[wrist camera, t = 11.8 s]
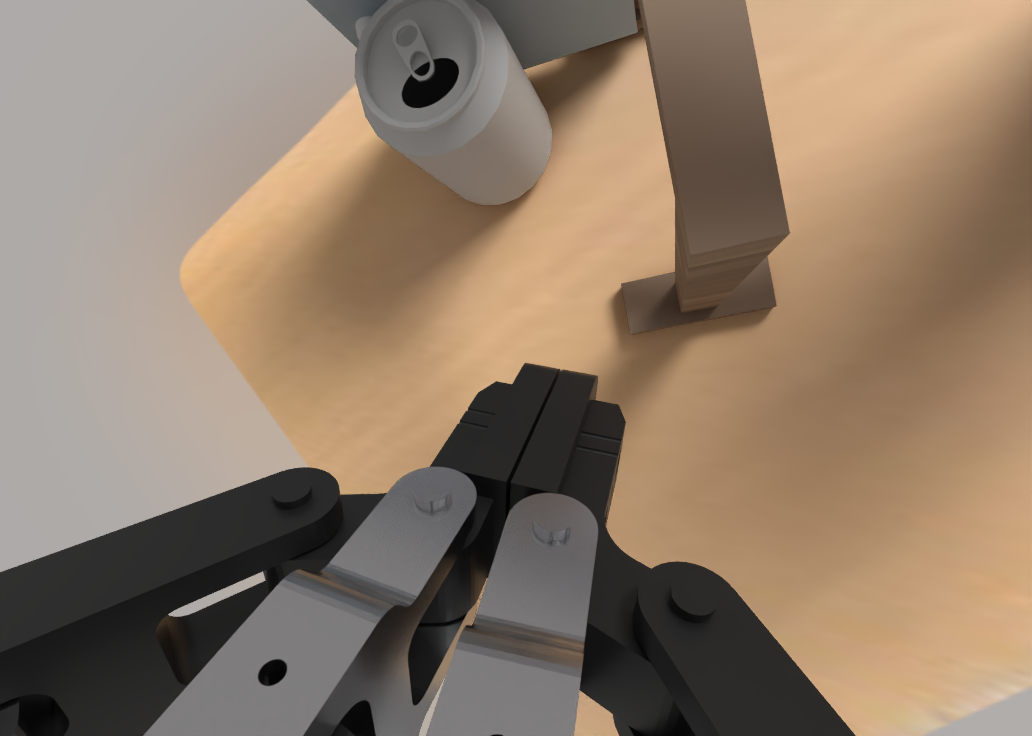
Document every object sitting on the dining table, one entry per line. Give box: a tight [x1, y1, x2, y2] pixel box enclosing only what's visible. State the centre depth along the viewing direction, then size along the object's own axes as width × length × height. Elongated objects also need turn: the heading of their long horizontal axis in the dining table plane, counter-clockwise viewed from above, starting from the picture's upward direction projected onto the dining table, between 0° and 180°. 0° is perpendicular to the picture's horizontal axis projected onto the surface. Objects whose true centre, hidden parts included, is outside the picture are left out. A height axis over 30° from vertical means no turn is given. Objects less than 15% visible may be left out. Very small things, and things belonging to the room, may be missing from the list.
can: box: [355, 0, 552, 205], centre depth 30 cm, size 8×8×12 cm
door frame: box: [621, 0, 790, 334], centre depth 23 cm, size 21×8×22 cm, turn 10°
